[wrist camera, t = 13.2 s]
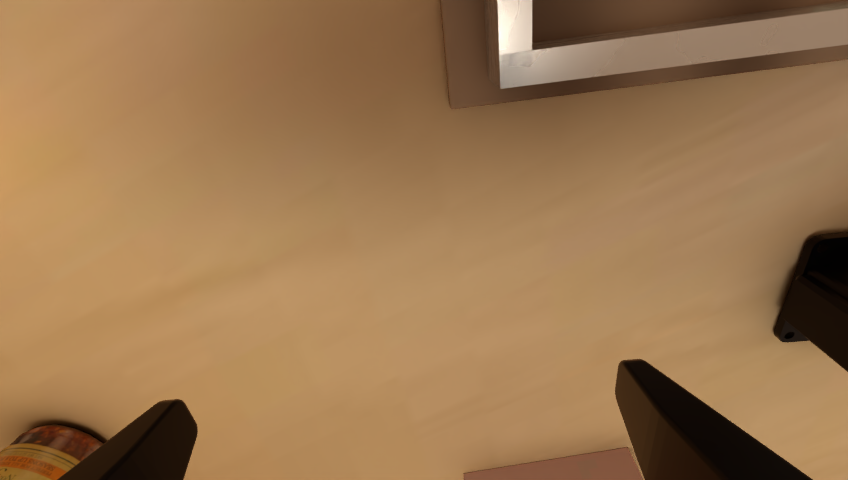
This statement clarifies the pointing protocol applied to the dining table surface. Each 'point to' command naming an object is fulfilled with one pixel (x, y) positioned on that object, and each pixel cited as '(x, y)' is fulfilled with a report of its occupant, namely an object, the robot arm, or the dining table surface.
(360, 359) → the dining table surface
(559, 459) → the greeting card
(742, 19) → the steel rails
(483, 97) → the pale grey flat strip
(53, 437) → the sauce bottle
